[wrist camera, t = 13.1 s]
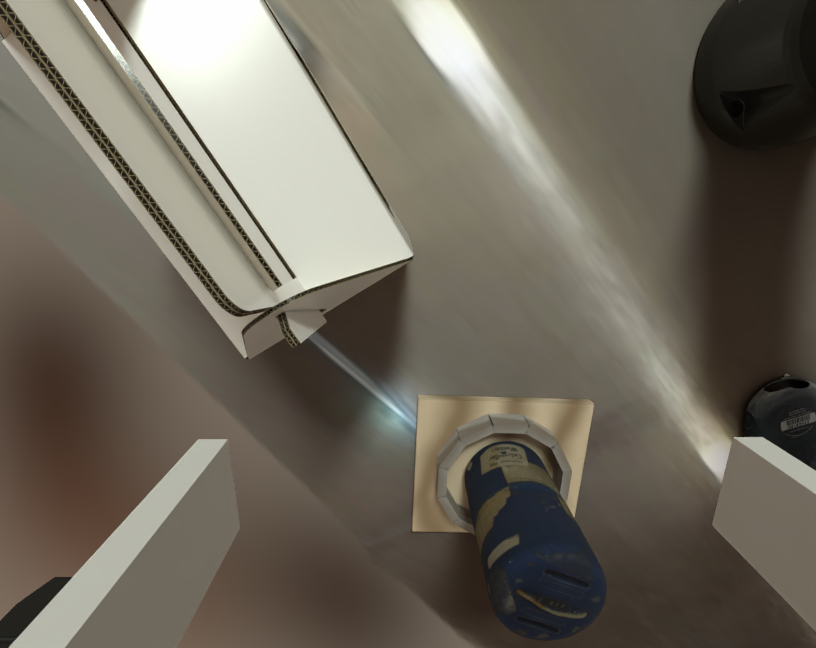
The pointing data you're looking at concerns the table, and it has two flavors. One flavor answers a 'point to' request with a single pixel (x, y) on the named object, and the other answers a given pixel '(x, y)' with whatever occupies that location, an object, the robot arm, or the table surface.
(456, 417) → the ring holder board
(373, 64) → the table surface
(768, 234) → the table surface
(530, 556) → the canister
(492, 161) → the table surface
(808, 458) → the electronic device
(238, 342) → the gable box
